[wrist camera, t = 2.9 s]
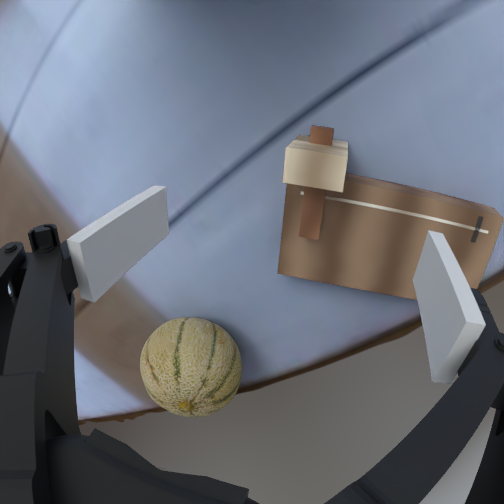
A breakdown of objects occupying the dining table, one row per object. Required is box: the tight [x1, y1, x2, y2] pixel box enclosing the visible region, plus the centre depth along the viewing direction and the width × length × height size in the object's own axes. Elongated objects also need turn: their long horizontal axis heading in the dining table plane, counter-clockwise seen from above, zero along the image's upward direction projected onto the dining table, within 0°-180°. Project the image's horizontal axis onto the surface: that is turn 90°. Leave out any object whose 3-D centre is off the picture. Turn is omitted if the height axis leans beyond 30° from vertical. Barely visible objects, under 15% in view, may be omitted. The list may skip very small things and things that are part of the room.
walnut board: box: [277, 174, 504, 300], centre depth 33 cm, size 24×12×3 cm, turn 87°
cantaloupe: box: [140, 317, 242, 417], centre depth 44 cm, size 15×15×15 cm
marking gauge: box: [283, 125, 348, 240], centre depth 30 cm, size 5×11×8 cm, turn 177°
